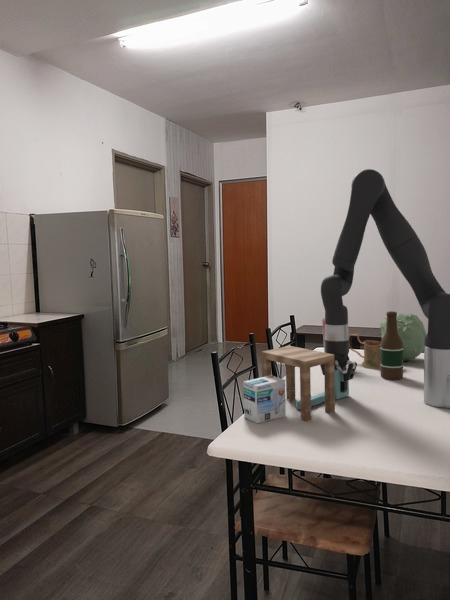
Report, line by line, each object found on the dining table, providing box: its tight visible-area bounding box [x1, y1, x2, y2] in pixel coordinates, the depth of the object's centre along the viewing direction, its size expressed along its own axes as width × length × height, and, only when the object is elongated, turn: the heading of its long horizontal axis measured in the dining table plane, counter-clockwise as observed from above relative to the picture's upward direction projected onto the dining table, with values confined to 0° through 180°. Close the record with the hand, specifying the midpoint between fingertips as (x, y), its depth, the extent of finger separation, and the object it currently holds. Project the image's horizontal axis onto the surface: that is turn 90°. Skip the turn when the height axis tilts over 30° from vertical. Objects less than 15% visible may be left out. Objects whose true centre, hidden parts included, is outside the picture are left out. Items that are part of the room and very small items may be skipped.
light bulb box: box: [243, 374, 287, 424], centre depth 134 cm, size 11×7×11 cm, turn 123°
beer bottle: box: [379, 311, 404, 381], centre depth 169 cm, size 8×8×24 cm
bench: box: [261, 345, 336, 422], centre depth 139 cm, size 18×12×17 cm, turn 37°
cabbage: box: [379, 312, 427, 362], centre depth 194 cm, size 16×19×20 cm
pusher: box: [295, 367, 350, 410], centre depth 145 cm, size 21×4×9 cm, turn 128°
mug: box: [349, 333, 381, 370], centre depth 189 cm, size 12×18×12 cm, turn 54°
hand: (337, 390), depth 150 cm, fingers closed on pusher, 4 cm apart
